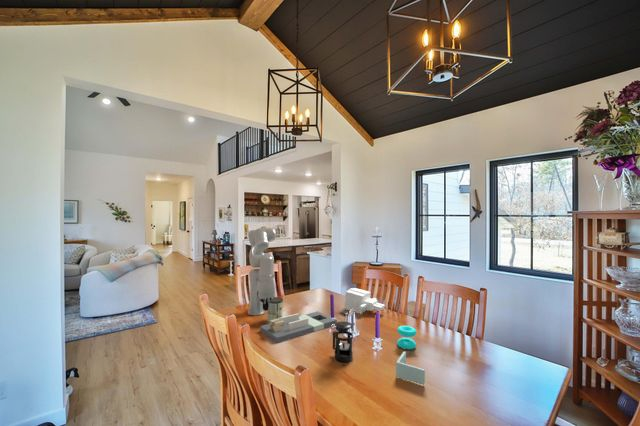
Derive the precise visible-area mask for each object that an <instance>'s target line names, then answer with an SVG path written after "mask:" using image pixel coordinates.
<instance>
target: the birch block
mask: <svg viewBox="0 0 640 426" xmlns="http://www.w3.org/2000/svg"><path fill="white" fill-rule="evenodd" d="M269 324H270V329H271V330H273V331H274V332H278V331H281V330H284V321H283V320H281V319H279V318H278V319H274V320H270V323H269Z"/></svg>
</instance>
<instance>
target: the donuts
mask: <svg viewBox="0 0 640 426" xmlns="http://www.w3.org/2000/svg"><path fill="white" fill-rule="evenodd" d="M396 331H397V333H398V334H399V335H401V336H402V337H400V338H399V339H398V340H397V342H396V343H397V346H398V347H401V349H402V348H404V349H403V350H405V349H412V350H414V349H413V348H415V347H417V343H416V342H415V340H413V339H411V338H413V337H415V336H416V335H417V330H416V329H415V328H414V327H412V326H410V325H400V326H398V327H397V330H396ZM415 349H416V348H415Z"/></svg>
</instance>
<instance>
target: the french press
mask: <svg viewBox="0 0 640 426" xmlns="http://www.w3.org/2000/svg"><path fill="white" fill-rule="evenodd" d="M339 314H340V315H342V316H343V321H337V323H335V325H334V326H335V331H333V332H332V350H334V357H333V360H335V361H336V362H337V363H339V364H349V362H350V363H351V362H353V359H354V357H353V339H354V334H353V333H352V332H350V331H348V330H349V329H353V328H354V327H353V326H354V324H353V323H352V322H349V321H345V317H346V316H347V315H349V312H348V311H341V312H340V313H339ZM340 334H341V335H342V334H343V337H339V335H340ZM345 335H347V338H345Z"/></svg>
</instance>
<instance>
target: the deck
mask: <svg viewBox="0 0 640 426" xmlns="http://www.w3.org/2000/svg"><path fill="white" fill-rule="evenodd" d="M331 317H332V316H329V315H327V314H325V313H322V312H320V311H314V312H309V313H306V314H302V315H300V313H298V312H297V313H295V314H290V315H286V316H282V317H281V318H280V319H281V320H283V321H284V330H281V331H278V332H274V331H273V330H271V329H270V323H268V324H264V325H260V326H259V332H260V333H262V334H263V335H265V336H266V337H267V338H269V339H270V340H271V341H272V342H274V343H276V344H278V343H282V342H285V341H288V340H292V339H294V338H297V337H301V336H304V335H308V334H311V333H314V332H316V331H321V330H323V329H327V328H330V327H332V326H331V325H332V324H335V323H337V322H338V319H336V318H333V317H332V318H333V319H332V318H331Z"/></svg>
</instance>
